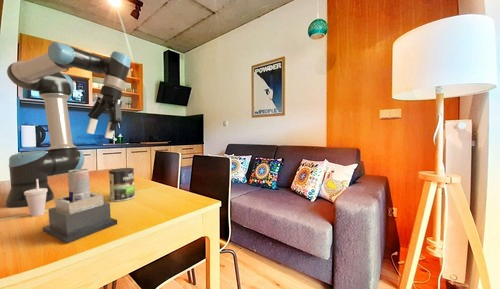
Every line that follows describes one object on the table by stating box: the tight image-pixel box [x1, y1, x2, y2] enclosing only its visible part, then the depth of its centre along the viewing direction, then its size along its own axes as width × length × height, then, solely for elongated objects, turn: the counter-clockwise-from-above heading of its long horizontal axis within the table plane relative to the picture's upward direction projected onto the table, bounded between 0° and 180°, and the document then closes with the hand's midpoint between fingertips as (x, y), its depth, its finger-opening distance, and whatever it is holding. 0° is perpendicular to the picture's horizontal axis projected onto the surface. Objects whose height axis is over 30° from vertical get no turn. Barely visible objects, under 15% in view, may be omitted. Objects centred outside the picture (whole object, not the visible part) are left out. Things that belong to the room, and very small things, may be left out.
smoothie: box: [24, 179, 48, 217], centre depth 79 cm, size 6×6×14 cm
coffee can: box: [108, 167, 136, 203], centre depth 99 cm, size 10×10×14 cm
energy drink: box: [67, 168, 91, 202], centre depth 68 cm, size 5×5×12 cm
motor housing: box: [42, 191, 118, 245], centre depth 68 cm, size 16×14×10 cm
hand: (98, 135), depth 86 cm, fingers open, 13 cm apart
